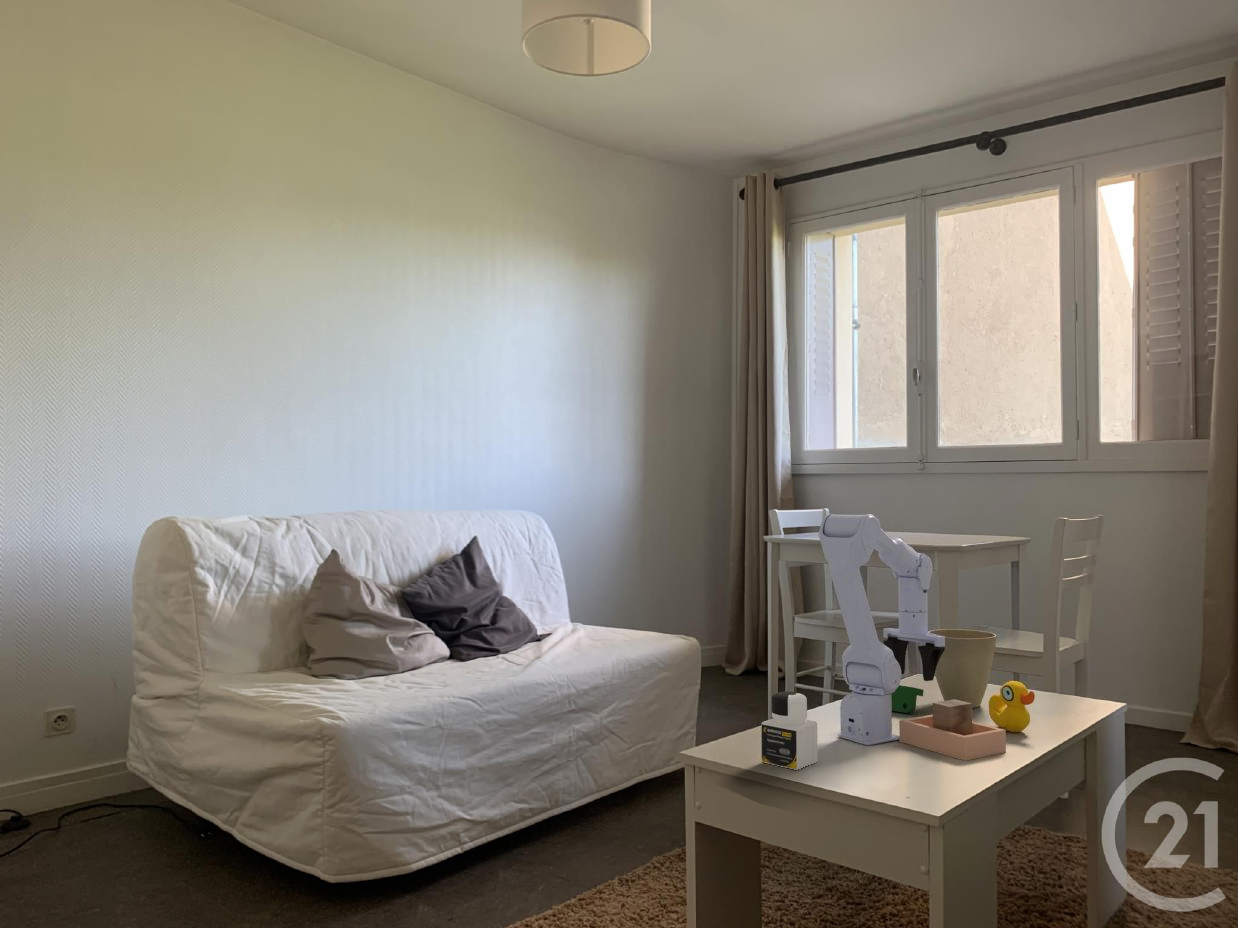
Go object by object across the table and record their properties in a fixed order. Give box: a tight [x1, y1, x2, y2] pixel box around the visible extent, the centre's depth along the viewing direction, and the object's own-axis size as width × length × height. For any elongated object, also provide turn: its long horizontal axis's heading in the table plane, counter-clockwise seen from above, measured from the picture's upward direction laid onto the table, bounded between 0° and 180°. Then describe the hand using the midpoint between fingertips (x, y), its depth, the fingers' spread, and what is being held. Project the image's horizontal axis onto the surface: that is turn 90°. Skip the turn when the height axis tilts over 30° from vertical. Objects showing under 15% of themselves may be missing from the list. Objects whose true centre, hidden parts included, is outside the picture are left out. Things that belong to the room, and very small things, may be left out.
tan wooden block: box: [932, 699, 973, 736], centre depth 170 cm, size 6×4×7 cm, turn 120°
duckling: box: [988, 680, 1036, 733], centre depth 182 cm, size 11×5×10 cm, turn 19°
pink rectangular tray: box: [898, 714, 1007, 761], centre depth 170 cm, size 11×15×4 cm
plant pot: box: [929, 628, 997, 709], centre depth 206 cm, size 15×15×16 cm
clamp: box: [891, 684, 924, 715], centre depth 202 cm, size 12×6×9 cm, turn 38°
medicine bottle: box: [761, 691, 819, 771], centre depth 160 cm, size 7×7×12 cm
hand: (913, 677), depth 188 cm, fingers open, 7 cm apart
